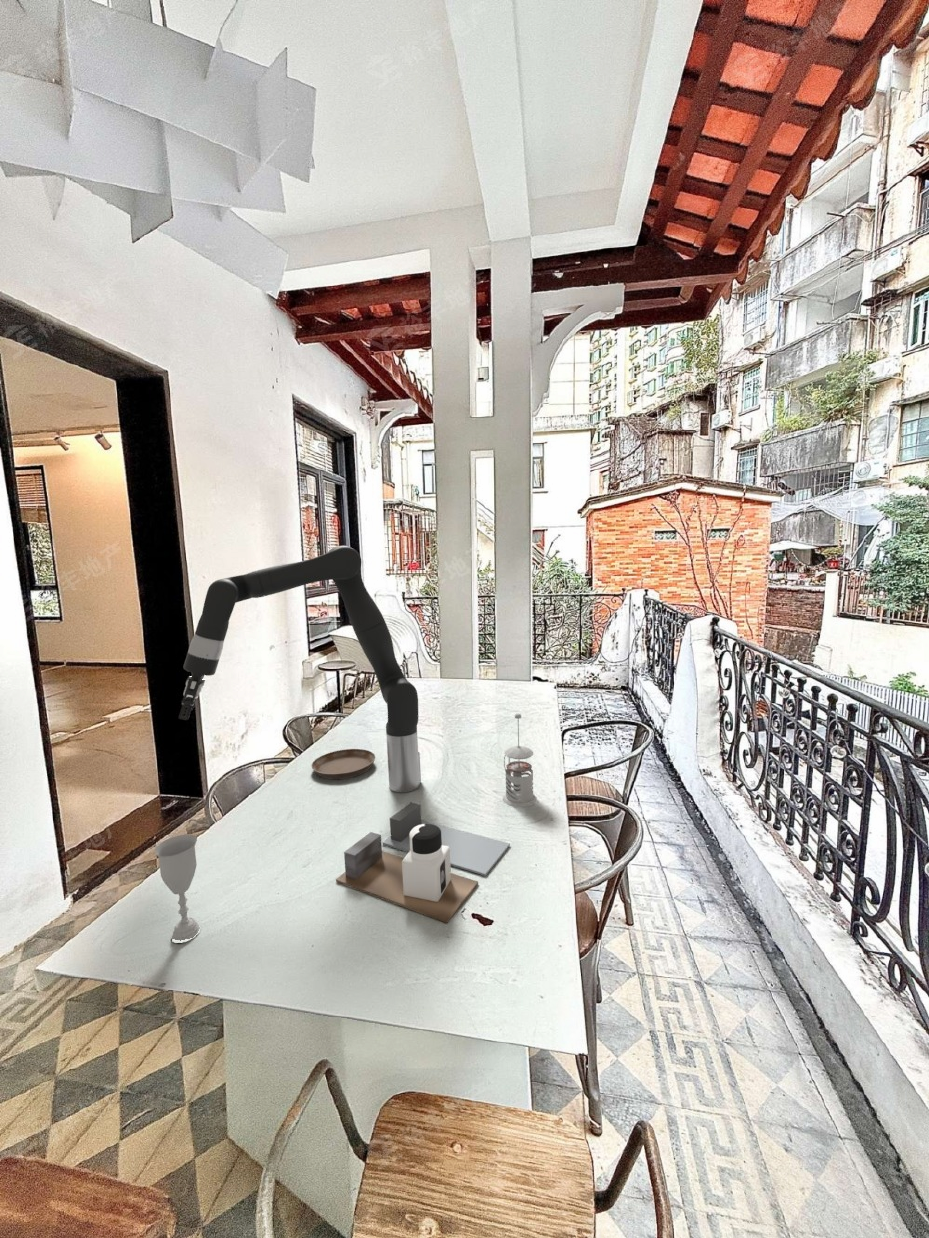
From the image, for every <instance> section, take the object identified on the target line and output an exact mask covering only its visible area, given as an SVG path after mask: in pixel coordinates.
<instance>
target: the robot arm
mask: <svg viewBox="0 0 929 1238" xmlns="http://www.w3.org/2000/svg"><path fill="white" fill-rule="evenodd" d="M361 568H362V558H361V554H360V553H359V552H358V551H357V550H356V549H354V548H352V547H351V546H349V545H348V546H347V545H338V546H333V547H332V548H330V549H329V550H328V551H327V552H326V553H324V554H321V555H318V556H315V557H312V558H309V559H306V560H303V561H296V562H291V563H285V564H280V565H274V566H270V567H265V568H261V569H258V570H254V571H250V572H248V573H246V574H240V575H234V576H228V577H225V578H221V579H217V580H215V581H213V582H212V583H210V585H209V586H208V589H207V592H206V595H205V598H204V602H203V608H202V613H201V615H200V618H199V620H198V622H197V626H196V629H195V632H194V635H193V637H192V639H191V641H190V644H189V647H188V651H187V654H186V658H185V660H184V663H183V670H185V671H186V672H190V673H191V674H192V675H191V676H190V675H189V676H188V677H187V678H186V681H185V687H184V690H183V698H182V699H181V708H180V712H179V714H178V719H179V720H183V721H188V720H189V718H190V715H191V712H192V711H193V710H194V708H195V703H196V701H197V699H198V698H199V695H200V693H201V692H202V689H203V686H204V684H205V682H206V679H204V678H205V676H207V677H211V676H214V675H215V674H216V671H217V668H218V665H219V661H220V659H221V655H222V651H223V648H224V642H225V639H226V637H227V636H226V635H227V633H228V628H229V623H230V619H231V616H232V613H233V611H234V608H235V606H236V603H239V602H243V601H247V600H250V599H259V598H263V597H269V596H271V595H275V594H279V593H282V592H285V591H288V590H289V591H290V590H292V589H295V588H299V587H302V586H305V585H310V584H313V583H317V582H323V581H331V580H332V581H333V583H334V585H335V587H336V589H337V590H338V592H339V594H340V597H341V598H342V601H343V604H344V607H345V609H346V610H345V611H346V612H347V616H348V619H349V621H350V624H351V626H352V629H353V632H354V634H355V636H356V639H357V641H358V643H359V644H360V648H361V649H362V651H363V653H364V654H365V656H366V658H367V660H368V662H369V663H370V665H371V667H372V669H373V671H374V674H375V676H376V679H377V682H378V685H379V686H378V687H379V689H380V693H381V696H382V698H383V700H384V702H385V704H386V706H387V722H386V725H385V730H386V731H385V735H386V748H387V749H386V751H387V752H386V753H387V768H388V769H387V770H388V771H387V772H388V785H389V789H390V791H392V792H394V793H408V792H414V791H415V790H416V789H418V788H419V787H420V785H421V784H420V783H421V782H422V773H421V770H422V769H421V754H420V752H419V742H418V741H419V740H418V725H419V724H418V723H419V696H418V691H417V689H416V686H415V685H413V683H411V682H410V681H409V680H408V679H407V677H406V676H405V675H404V673H403V671H402V669H401V667H400V665H399V663H398V660H397V658H396V654H395V649H394V643H393V640H392V635H391V632H390V629H389V627H388V626H387V623H386V620H385V618H384V616H383V614H382V612H381V610H380V609H379V607H378V605H377V603H376V602H375V601H374V599H373V598H372V596H371V595H370V593H369V591H368V590H367V588H366V586H365V583H364V582H363V579H362V575H361V572H360V570H361Z"/></svg>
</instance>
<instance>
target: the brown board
mask: <svg viewBox="0 0 929 1238" xmlns="http://www.w3.org/2000/svg"><path fill="white" fill-rule="evenodd" d="M382 845H383V843H382V835H381V834H379V833H375V832H373V831H372V832H371V831H370V832H369V833H367V834H366V835H365V836H364V837H362V838H361V839H359V840H358V841H357V842H355V843H354V844H353V845H351V846H350V847H349V848H348V849H346V850H345V851H344V852H343V853H344V854H343V855H344V856H343V857H344V868H345V871H344V872H343V873H342V874H341V875H339V876H338V877H337V878H335V881H336V883H338V884H342V885H344V886H348V887H349V888H351V889H355V890H358V891H360V892H363V893H366V894H367V895H368V894H369V895H372V896H373V897H376V898H379V899H382V900H385V901H387V902H390V903H392V904H395V905H398V906H400V907H403V908H405V909H408V910H411V911H414V912H416V913H419V914H422V915H423V916H426V917H429V918H432V919H435V920H438V921H440V922H443V923H448V922H449V921H450V920H451V918H452V917H453V916H454V915H455V914H456V912H458V911H457V910H459V908H460V907H461V906H462V905H463V903H464V902H465V901H466V900H467V899H468V897H469V896H470V895H471V893H472V892H473V891H474V890H475V889H476V888H477V886H478V885H479V881H477V880H475V879H472V878H468V877H464V876H462V875H459V874H455V873H453V872H451V880H450V882H449V884H448V885H447V887H446V889H445V891H444V892H443V894H442V896H441V898H440V899H439V901H438V902H435V901H430V900H425V899H420V898H415V897H410V896H405V895H404V891H403V872H402V860H403V859H404V858H405V857H402V856H399V855H395V854H392V853H390V852H386V851H383V848H382Z"/></svg>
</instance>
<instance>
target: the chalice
mask: <svg viewBox="0 0 929 1238" xmlns="http://www.w3.org/2000/svg"><path fill="white" fill-rule="evenodd" d="M197 841H198V838H197V836H195V835H194V834H187V833H186V834H178V835H175V836H172V837H170V838H168V839H165V840H164V841H162V842H160V843H158V845H157V846H156V848H155V849H154V854H155V855H156V856H157V857H158V865H159V872H160V873H159V874H160V878H161V879H162V881H163V882H164V884H165V886H166V887H167V888H168V889H169V890H170V891H171V893H172V894H174V895H178V900H177V904H178V905H179V907H180V908H179V910H178V914H179V915H180V916H181V920H179V921H178V922H177V923H176V924H175V926H174V928H173V929H174V930H173V931H172V935H171V937H172V939H175V940H180V941H181V940H185V939H190V938H193V937H194V936H195V935H196V934H197V933H198V931H199V929H200V927H201V926H200V925H199V923H198V922H197V920H196V919H195V918H192V917H188V912H189V909H190V908H189V907H187V905H186V904H187V901H188V898H186V895H185V893H186V892H187V891H188V890H189V889H190V887H191V885H192V882H193V879H194V877H195V873H196V871H197V866H198V865H197V856H196V847H195V846H196V844H197ZM199 926H200V927H199Z"/></svg>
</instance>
